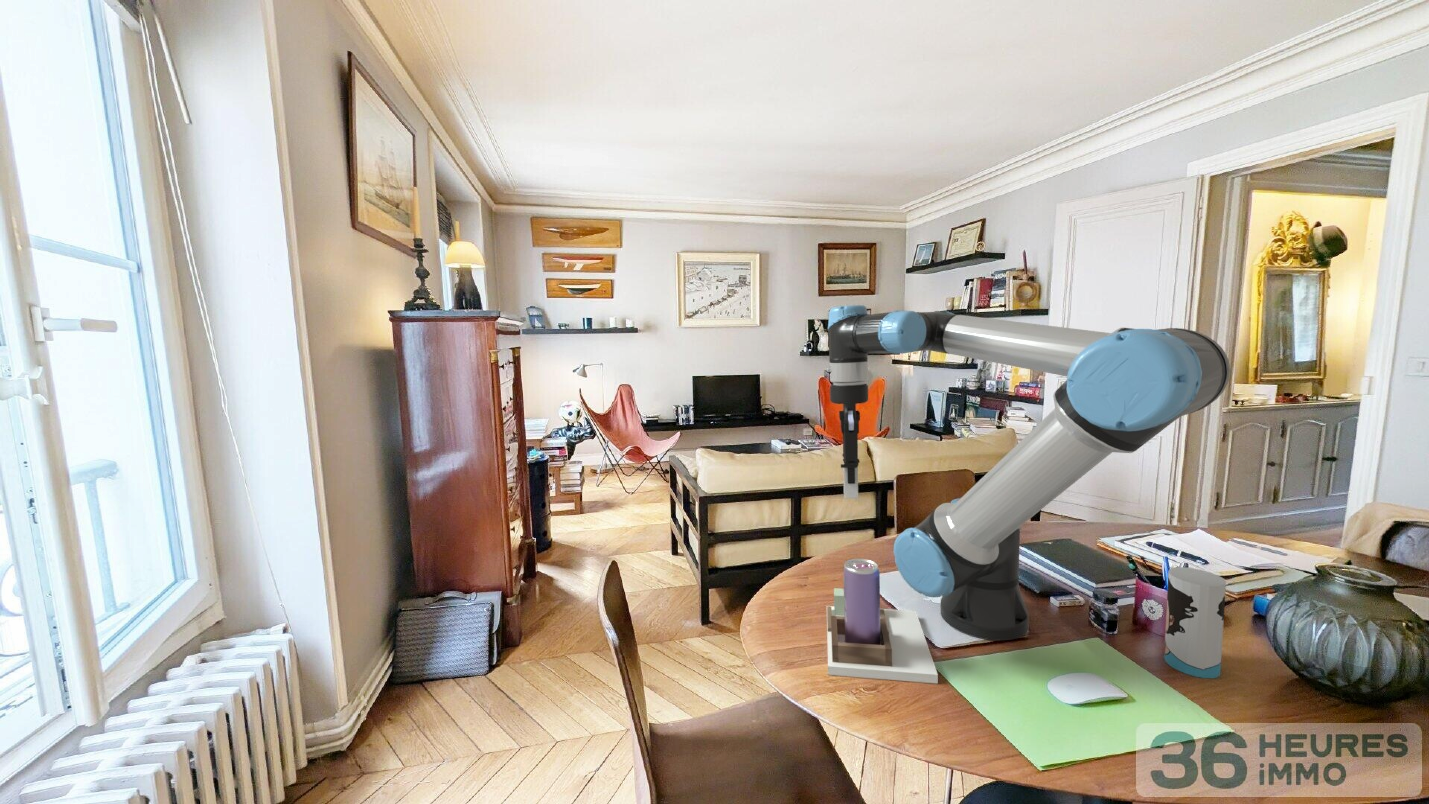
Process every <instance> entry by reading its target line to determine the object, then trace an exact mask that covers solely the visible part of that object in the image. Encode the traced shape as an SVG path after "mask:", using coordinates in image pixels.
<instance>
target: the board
mask: <svg viewBox="0 0 1429 804" xmlns="http://www.w3.org/2000/svg"><path fill="white" fill-rule="evenodd" d="M831 616H843V615H835V611H834V605H826V630H827V631H826V636H827V642H826V643H827V675H828V676H840V677H849V678H850V677H851V678H864V679H875V680H876V679H877V680H887V681H888V680H889V681H891V680H892V681H900V682H913V683H914V682H915V683H927V684H938V683H939V682H938V681H939V680H938V679H939V678H938V677H939V674H938V671H937V668H936V666H935V663H934V660H933V657H932V655H931V652H930V649H929V645H928V642H927V640H926V637H925V634H924V631H923V627H922V626H921V625H922V624H921V623H920V620H919V617H918V614H917V612H916V610H911V609H891V608H880V619H885V621H886V626H887V630H888V635H889V639H890V643H891V648H892V667H891V666H878V665H865V664H851V663H838V662H832V636H831ZM838 642H843V643H845V635H838Z"/></svg>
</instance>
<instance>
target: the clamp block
mask: <svg viewBox="0 0 1429 804" xmlns="http://www.w3.org/2000/svg"><path fill="white" fill-rule="evenodd" d="M833 606H834V611H835V615H843V616H844V588H838V587H837V588H835V587H834V588H833Z"/></svg>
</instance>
